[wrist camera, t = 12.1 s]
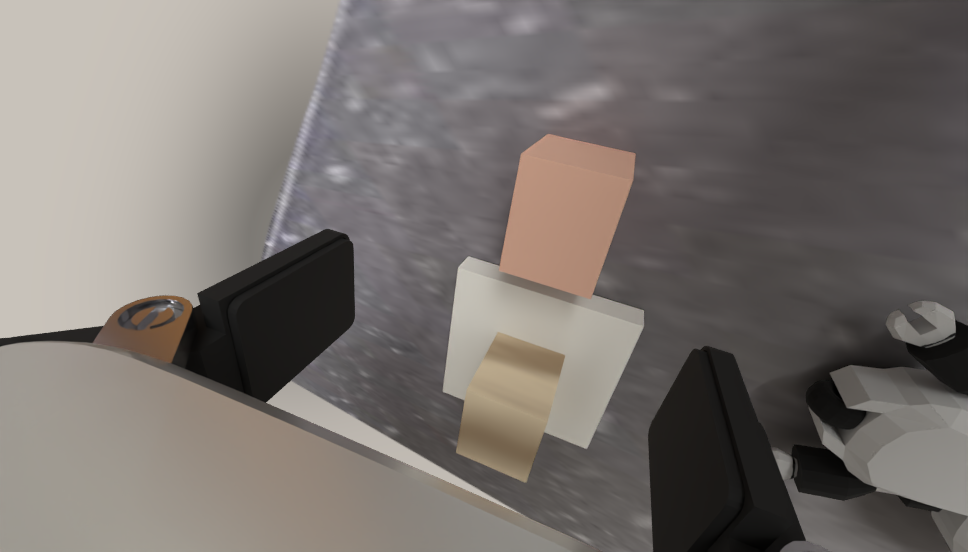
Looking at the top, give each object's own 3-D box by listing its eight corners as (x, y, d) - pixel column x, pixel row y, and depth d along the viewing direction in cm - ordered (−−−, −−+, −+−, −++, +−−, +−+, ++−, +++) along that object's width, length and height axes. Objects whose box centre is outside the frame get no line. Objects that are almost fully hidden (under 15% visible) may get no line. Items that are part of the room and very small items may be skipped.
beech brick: (497, 331, 22) (466, 389, 18) (565, 355, 21) (547, 421, 17) (485, 390, 25) (455, 452, 21) (545, 413, 24) (525, 482, 20)
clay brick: (548, 133, 18) (520, 153, 14) (635, 153, 17) (633, 180, 13) (526, 230, 21) (498, 270, 17) (601, 251, 20) (590, 299, 16)
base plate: (468, 256, 22) (458, 267, 21) (643, 310, 20) (643, 326, 19) (451, 376, 28) (442, 391, 26) (589, 430, 25) (586, 449, 24)
